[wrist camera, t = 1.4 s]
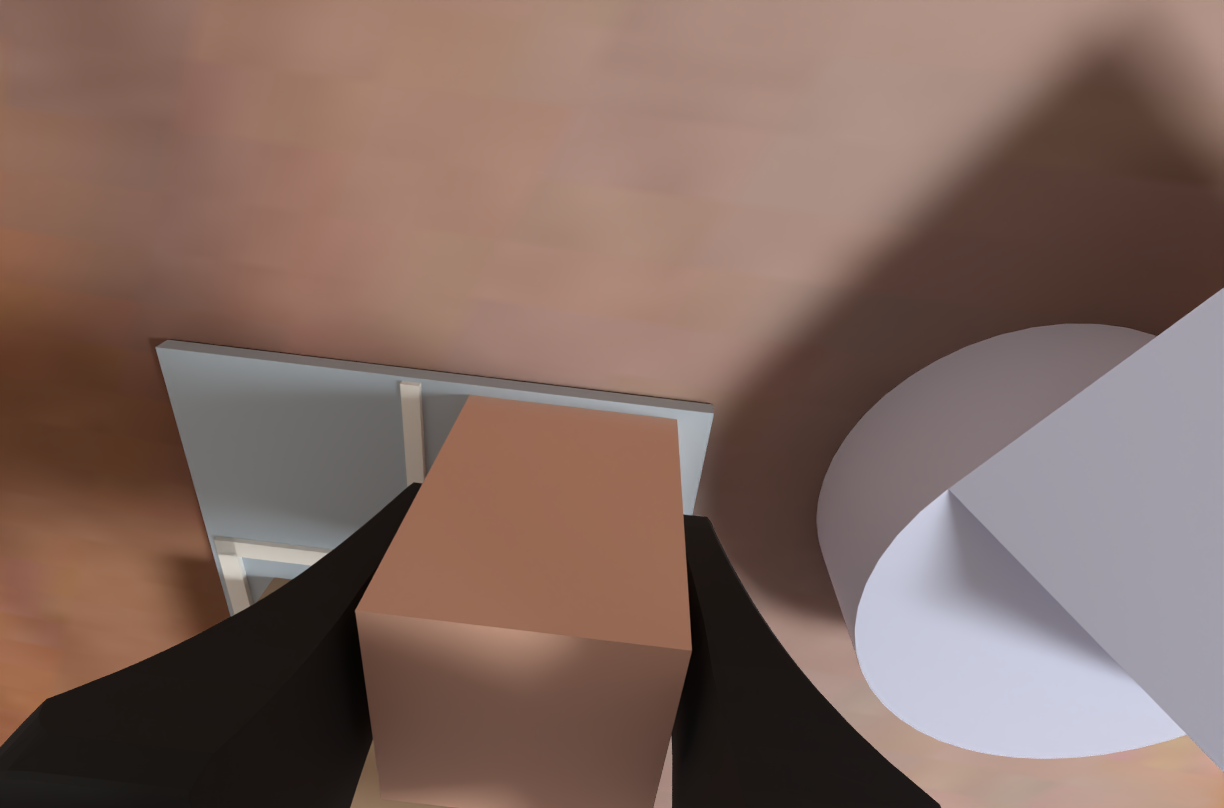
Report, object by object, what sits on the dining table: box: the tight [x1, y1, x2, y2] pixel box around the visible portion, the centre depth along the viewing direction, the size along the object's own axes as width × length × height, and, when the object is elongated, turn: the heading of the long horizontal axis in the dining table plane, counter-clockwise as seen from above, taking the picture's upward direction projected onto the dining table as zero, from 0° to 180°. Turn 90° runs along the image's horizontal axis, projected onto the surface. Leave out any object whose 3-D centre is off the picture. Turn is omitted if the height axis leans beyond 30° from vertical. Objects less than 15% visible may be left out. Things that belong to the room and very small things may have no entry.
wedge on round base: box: [817, 288, 1224, 772], centre depth 11 cm, size 9×7×13 cm
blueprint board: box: [155, 340, 714, 616], centre depth 17 cm, size 15×12×1 cm
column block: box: [355, 395, 692, 808], centre depth 12 cm, size 4×4×6 cm
